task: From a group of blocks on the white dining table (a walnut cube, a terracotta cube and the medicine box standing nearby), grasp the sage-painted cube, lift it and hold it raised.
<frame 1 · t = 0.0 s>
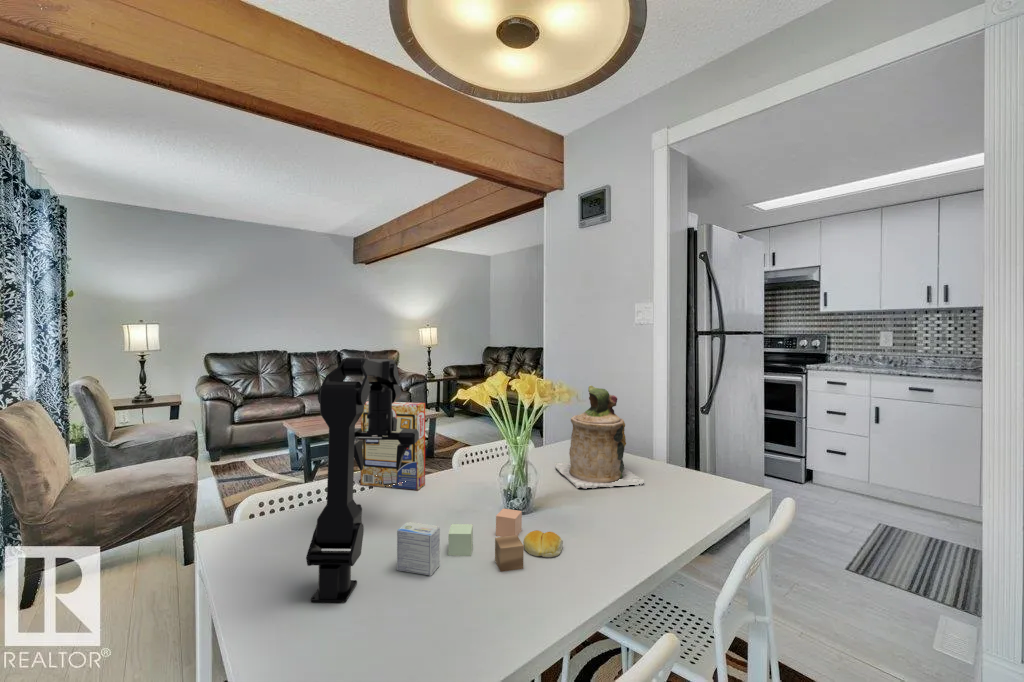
hand: (379, 470, 111), 15 cm above the table, fingers open, 9 cm apart
sage cube: (460, 550, 100), on the table
walnut cube: (508, 564, 94), on the table
cookie jar: (596, 477, 155), on the table
medicine box: (418, 569, 92), on the table
board game box: (392, 485, 143), on the table
terracotta cube: (508, 533, 109), on the table
bread roll: (543, 550, 101), on the table
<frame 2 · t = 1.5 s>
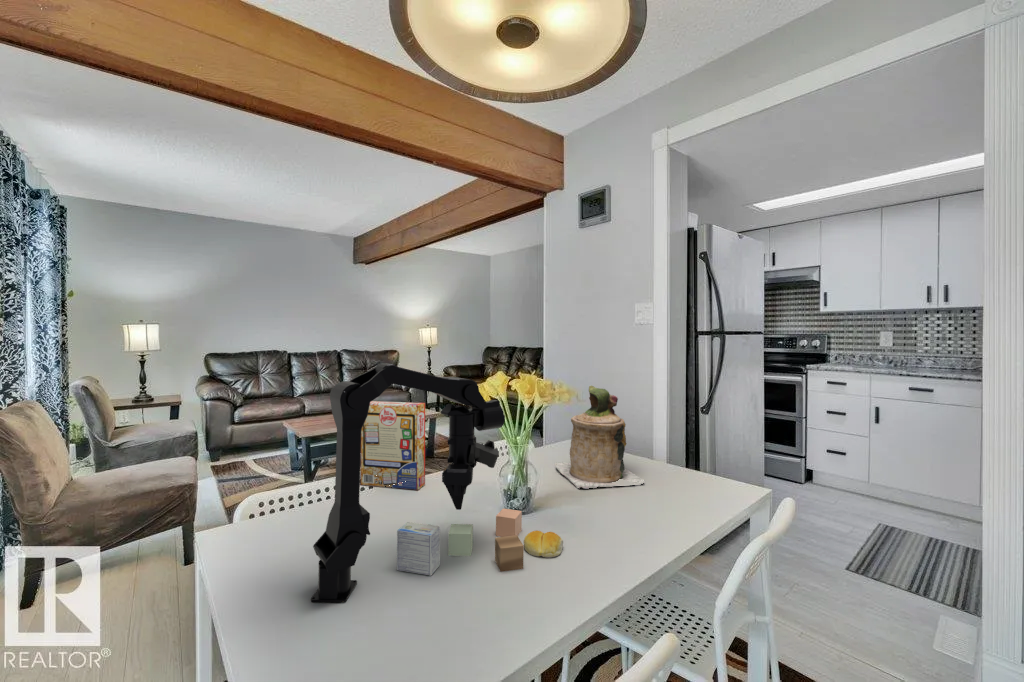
hand: (460, 501, 100), 11 cm above the table, fingers open, 9 cm apart
nothing on the table moved.
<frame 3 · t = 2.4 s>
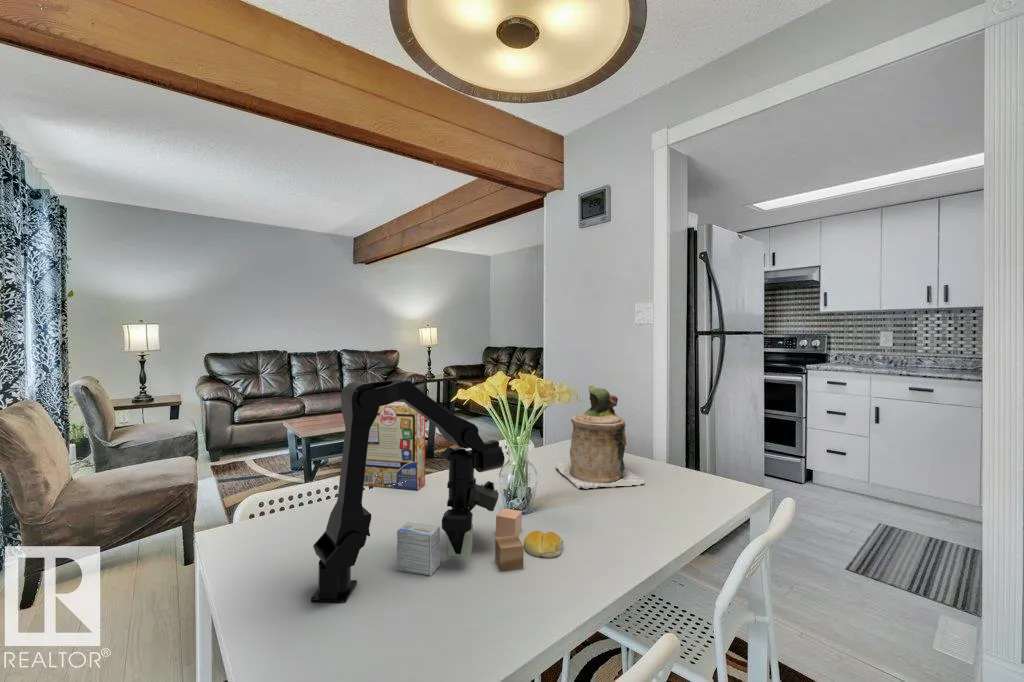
hand: (460, 543, 100), 1 cm above the table, fingers open, 9 cm apart
nothing on the table moved.
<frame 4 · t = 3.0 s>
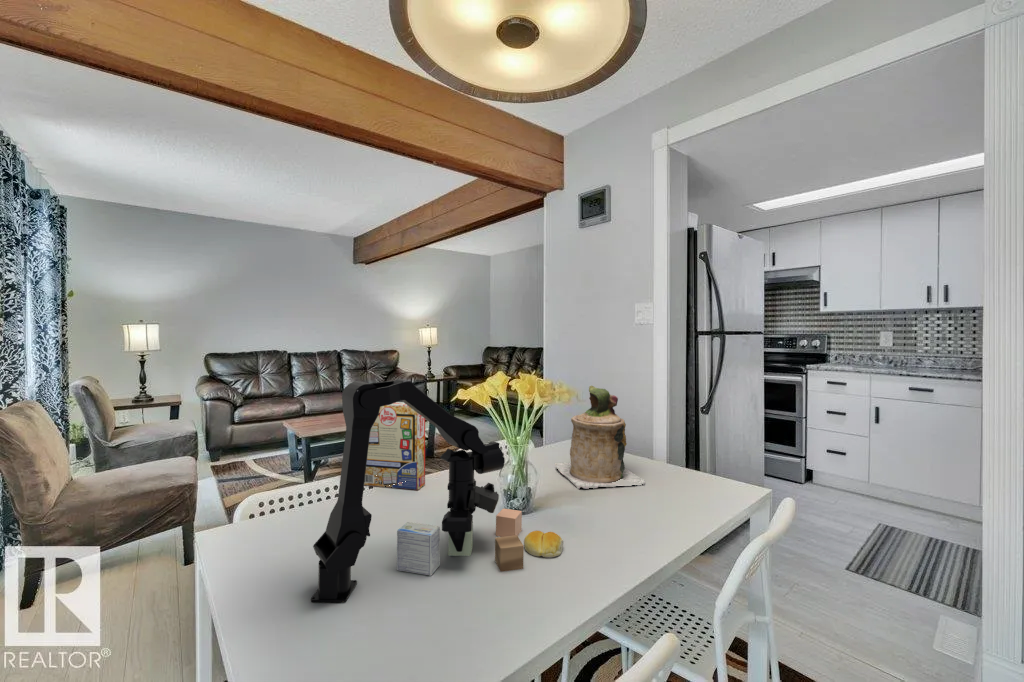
hand: (460, 545, 100), 1 cm above the table, fingers closed on sage cube, 5 cm apart
sage cube: (460, 550, 100), on the table, touching gripper
everything else where it was.
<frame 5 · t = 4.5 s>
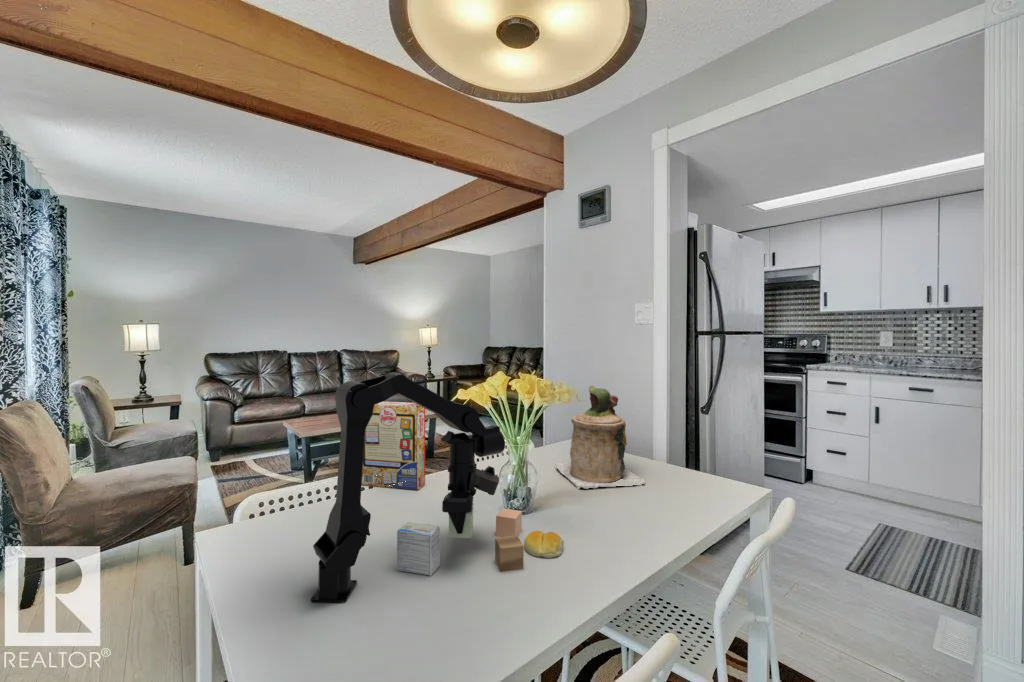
hand: (461, 528, 100), 5 cm above the table, fingers closed on sage cube, 5 cm apart
sage cube: (461, 532, 100), point 4 cm above the table, touching gripper
everything else where it was.
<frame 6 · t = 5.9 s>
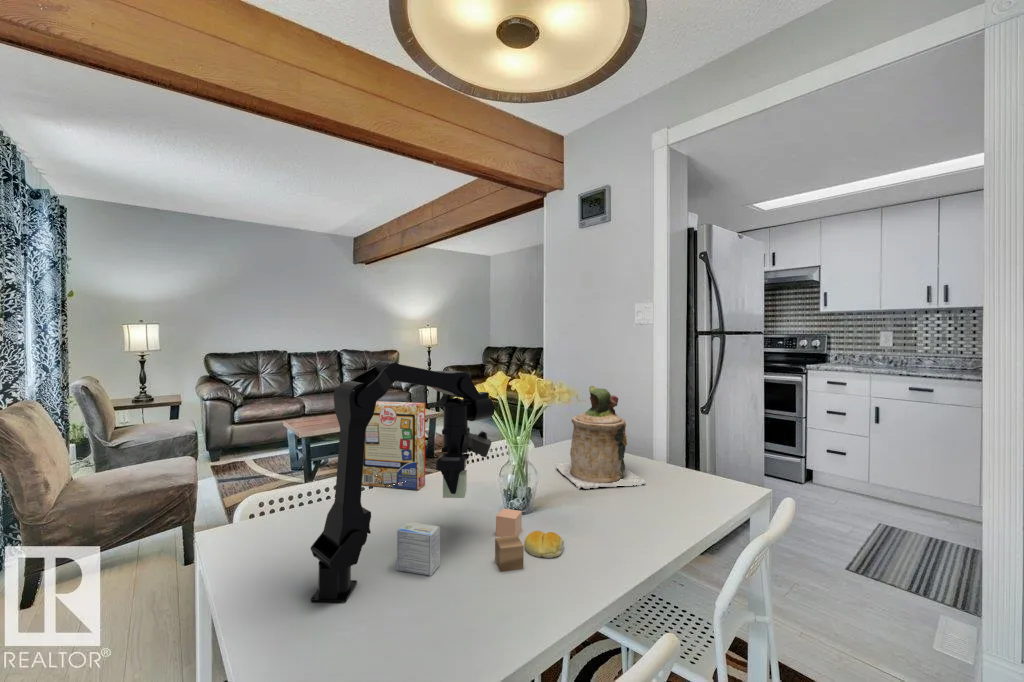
hand: (454, 489, 104), 12 cm above the table, fingers closed on sage cube, 5 cm apart
sage cube: (454, 494, 104), point 11 cm above the table, touching gripper
everything else where it was.
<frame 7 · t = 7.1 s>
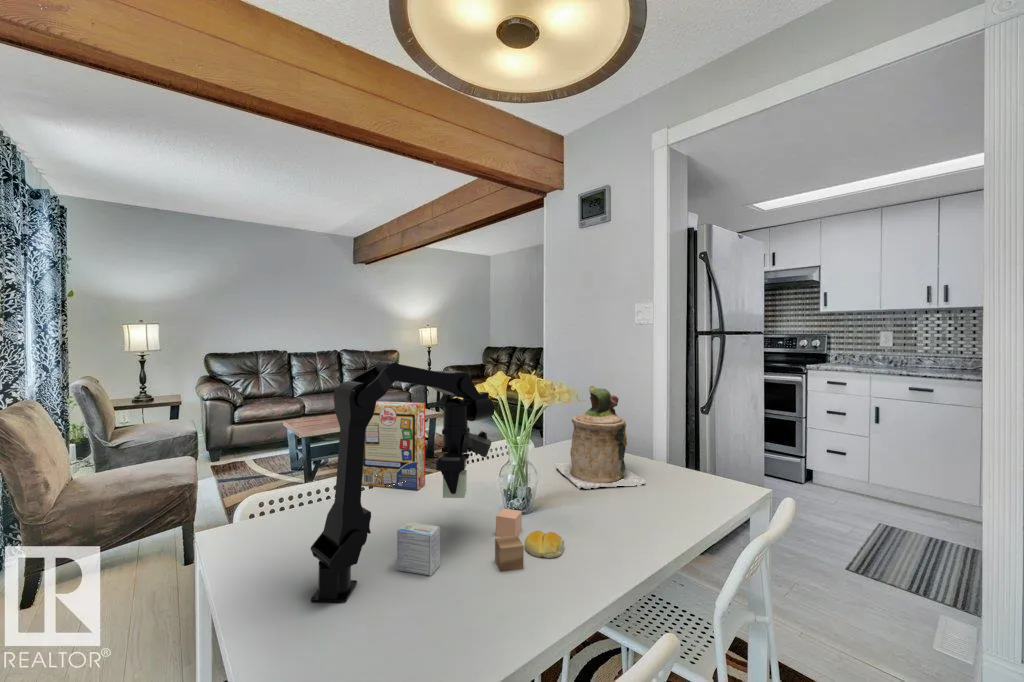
hand: (454, 489, 104), 12 cm above the table, fingers closed on sage cube, 5 cm apart
sage cube: (454, 494, 104), point 11 cm above the table, touching gripper
everything else where it was.
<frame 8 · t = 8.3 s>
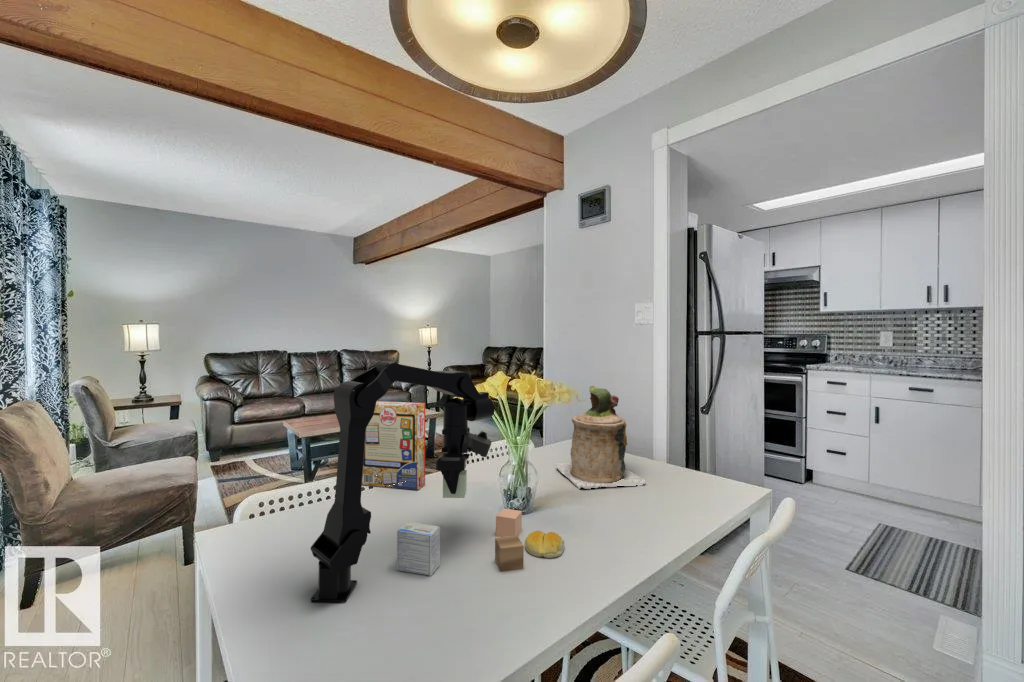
hand: (454, 489, 104), 12 cm above the table, fingers closed on sage cube, 5 cm apart
sage cube: (454, 494, 104), point 11 cm above the table, touching gripper
everything else where it was.
at the end: the gripper is holding sage cube; sage cube point 11.4 cm above the table; medicine box moved 0.3 cm from its start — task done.
